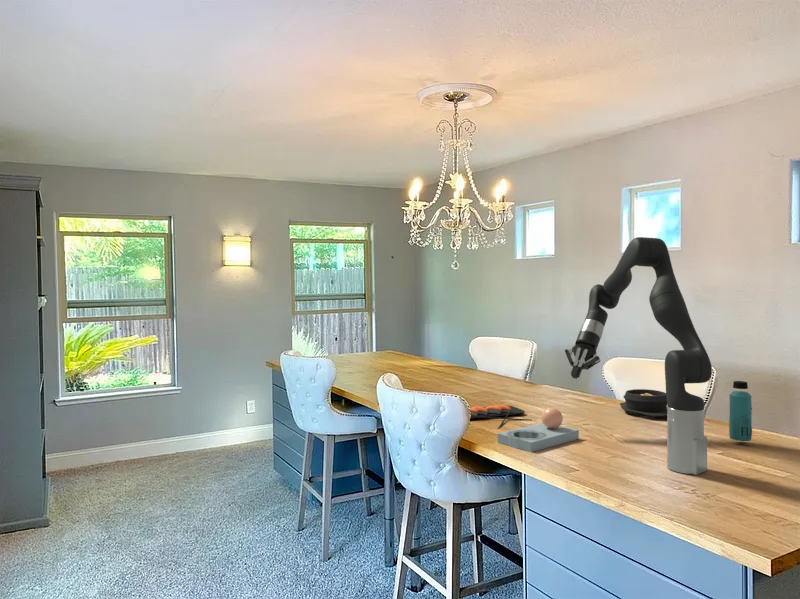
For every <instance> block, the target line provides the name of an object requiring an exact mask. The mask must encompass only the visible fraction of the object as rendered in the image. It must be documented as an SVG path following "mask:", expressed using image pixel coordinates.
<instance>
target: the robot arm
mask: <svg viewBox="0 0 800 599" xmlns="http://www.w3.org/2000/svg"><path fill="white" fill-rule="evenodd" d="M635 266H638V267H649V268H650V267H651V268H652V269H653V270H654V273H655V278H656V279H655V283H654V284H653V286H652V288H651V291H650V294H649V297H648V298H649V304H650V309H651V310H652V315H653V317H654V319H655V321H657V323H658V324H659V325H660V326H661V328H663V329H664V330H665V331H667V332H668V333H669V334H670V335H671V336H673V337H674V338H675V339H676V340H677V342H678V343H679V344H680V346H681V347H682V349H674V350H670V351H668V352H667V353H666V356H665V359H664V378H665V379H664V380H665V393H666V397H667V416H666V419H667V420H666V421H667V422H666V429H667V430H666V434H667V435H666V438H667V440H666V442H667V443H666V450H667V451H666V453H667V454H666V455H667V456H666V462H667V463H666V464H667V466H666V467H667V469H669V470H670V471H673V472H676V473H681V474H687V475H688V474H689V475H695V476H697V475H700V474H702V473H705V472H706V471H708V437H707V435H705V400H704V399H703V397H701V396H699V395H695V394H692V393H690V392H688V391H687V390H686V386H685V384H704V383H707V382H709V381H710V379H711V378H712V375H713V369H712V363H711V360H710V357H709V355H708V353H707V350H706V348H705V346H704V344H703V342H702V340H701V338H700V337H699V335H698V333H697V331H696V328H695V326H694V324H693V321H692V318H691V316H690V313H689V309H688V307H687V304H686V302H685V298H684V296H683V294H682V292H681V289H680V286H679V285H678V281H677V279H676V275H675V273H674V272H675V271H674V268H673V265H672V260H671V256H670V252H669V249H668V246H667V244H666V243H665V241H664V240H663V239H662V238H657V237H643V236H639V237H634V238H632V239H631V240H630V242H629V243H628V244H627V246H626V248H625V249H624V251H623V254H622V255H621V257H620V259H619V261H618V263H617V265H616V267H615V269H614V270H613V271H612V273H611V274H610V275H609V276H608V277H607V278H606V279H605V281H603V285H602V284H598V283H597V284H595V285H593V286H592V287H591V289H590V291H589V296H588V310H587V314H586V316H585V318H584V321H583V323H582V325H581V327H580V330H579V333H578V335H577V338H576V340H575V343H574V345H573V346H572V347H571V348H570V349H564V353H565V355H566V358H567V361H568V362H569V364H570V367H572V368H571V371H570V375H571V378H572V379H576V380H577V379H578V378H580V376H581V374H582V371H583V370H589V369H592V367H594V366H595V365H598V364H599V363H600V362H601V358H600V357H599V355H597V349H598V346H599V344H600V342H601V339H602V337H603V333H604V329H605V328H604V327H605V325H606V323H607V320H608V317H609V316H608V315H609V314H608V312H607V311H606V310H605V309H608V310H612V309H615V308H616V307H617V306H618V304H619V301H620V298H621V295H622V293H624V291H626V289H627V288H628V287H629V286H630V285H631V283H632V280H633V273H632V270H631V269H632V268H634V267H635ZM602 307H603V308H602ZM573 355H574V361H573V358H572V356H573Z"/></svg>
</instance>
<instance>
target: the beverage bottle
mask: <svg viewBox="0 0 800 599" xmlns="http://www.w3.org/2000/svg"><path fill="white" fill-rule="evenodd" d="M732 388H733V389H738V390H733V391H732V392H731V393H729V419H728V426H729V427H728V435H729V438H730V439H731V440H733V441H737V442H751V441H752V438H753V426H752V424H753V421H752V420H753V419H752V416H753V406H752V405H753V404H752V399H753V397H752V395H751V394H750V393H749V392H748V391H743V390H747V389H749V387H748V382H747V381H742V380H735V381H733V385H732Z"/></svg>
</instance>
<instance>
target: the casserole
mask: <svg viewBox="0 0 800 599" xmlns="http://www.w3.org/2000/svg"><path fill="white" fill-rule="evenodd" d="M622 397H623V398H624V400H625V402H620V403H619V405H620V408H621V409H622V410H624V411H626V412H629V413H631V414H633V415H637V416H641V415H642V417H667V397H666V391H661V390H656V389H655V390H654V389H646V388H644V389H643V388H640V389H636V388H634V389H629V390H626V391H625V393H624V395H623V396H622Z"/></svg>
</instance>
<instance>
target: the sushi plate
mask: <svg viewBox="0 0 800 599" xmlns="http://www.w3.org/2000/svg"><path fill="white" fill-rule="evenodd" d="M469 408H470V412H471V419H470V420H476V419H475V418H477V419H497V420H498V419H499V420H503V421H502V422H501V423H500V424H499V426H498V427H497V430H498V429H499V428H500V427H501V428H502V426H503V425H504V423H505V421H506V420H510V421H531V419H527V418H515V417H513V418H512V417H511V418H510V417H508V415H509V416H514V415H516V416H517V415H521V414H525V410H523V409H521V408H518V407H515V406H513V405H509V404H508V405H505V404H495V405H488V406H472V407H469ZM497 416H498V417H497ZM501 428H500V429H501ZM500 429H499V430H500Z"/></svg>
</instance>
